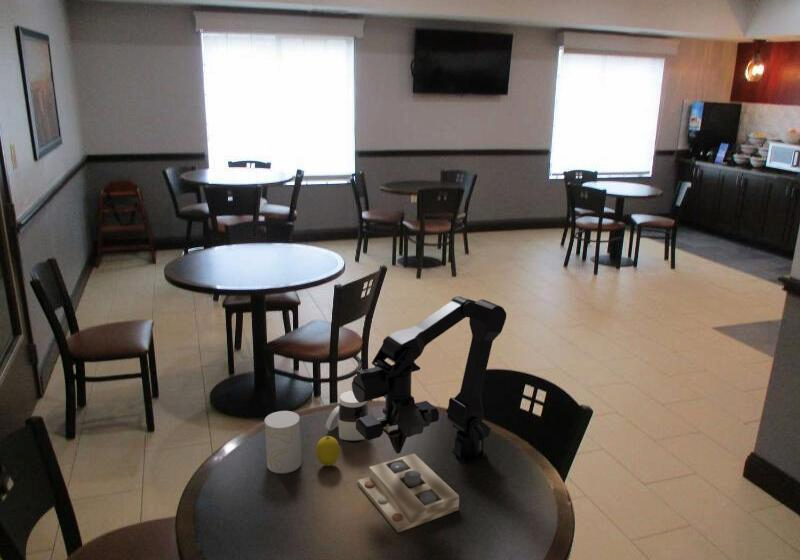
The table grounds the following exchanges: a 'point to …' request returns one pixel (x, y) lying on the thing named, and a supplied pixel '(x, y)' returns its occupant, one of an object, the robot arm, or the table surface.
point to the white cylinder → (283, 441)
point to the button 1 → (398, 467)
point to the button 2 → (427, 498)
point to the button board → (408, 493)
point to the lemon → (328, 450)
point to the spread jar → (348, 418)
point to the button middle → (412, 479)
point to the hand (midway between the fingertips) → (397, 452)
